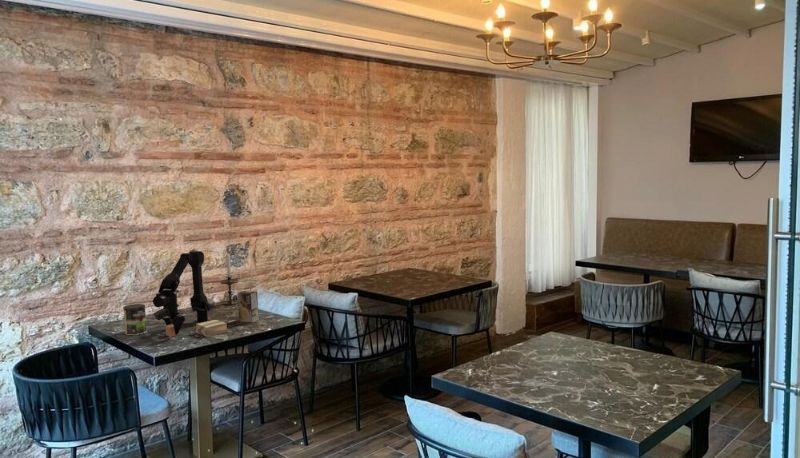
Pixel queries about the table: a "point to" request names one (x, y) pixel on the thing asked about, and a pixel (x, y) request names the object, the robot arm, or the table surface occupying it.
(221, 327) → the base block
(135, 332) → the coffee can
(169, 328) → the cube
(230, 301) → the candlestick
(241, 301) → the coffee box
